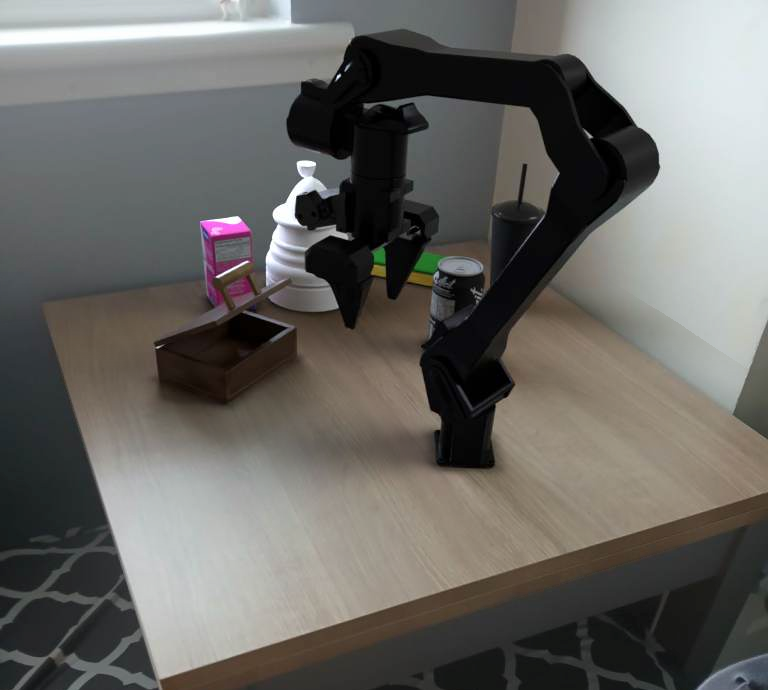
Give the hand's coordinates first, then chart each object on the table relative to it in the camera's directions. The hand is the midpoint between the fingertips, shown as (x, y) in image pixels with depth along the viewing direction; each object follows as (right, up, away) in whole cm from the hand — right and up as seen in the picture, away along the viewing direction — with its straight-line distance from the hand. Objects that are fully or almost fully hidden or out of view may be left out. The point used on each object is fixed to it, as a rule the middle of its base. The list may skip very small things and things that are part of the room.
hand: (371, 313), depth 99 cm
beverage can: (+10, -1, +20) cm, 22 cm away
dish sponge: (+6, +15, +39) cm, 42 cm away
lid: (-18, +2, +8) cm, 20 cm away
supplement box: (-20, +7, +27) cm, 35 cm away
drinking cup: (+19, +9, +32) cm, 39 cm away
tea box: (-18, -4, +13) cm, 23 cm away
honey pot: (-9, +10, +32) cm, 34 cm away
